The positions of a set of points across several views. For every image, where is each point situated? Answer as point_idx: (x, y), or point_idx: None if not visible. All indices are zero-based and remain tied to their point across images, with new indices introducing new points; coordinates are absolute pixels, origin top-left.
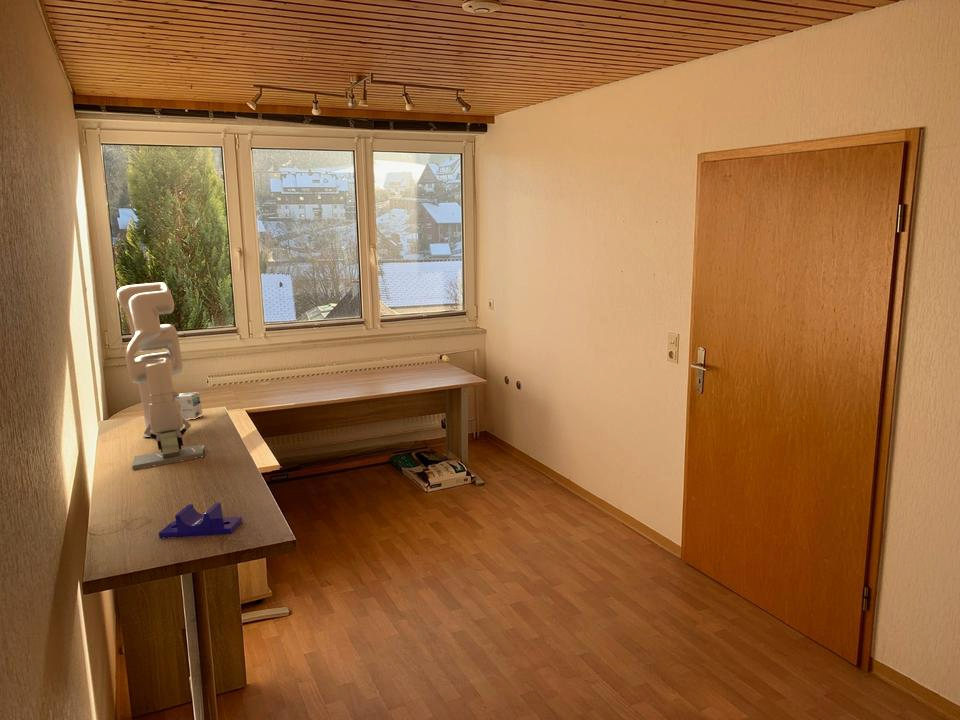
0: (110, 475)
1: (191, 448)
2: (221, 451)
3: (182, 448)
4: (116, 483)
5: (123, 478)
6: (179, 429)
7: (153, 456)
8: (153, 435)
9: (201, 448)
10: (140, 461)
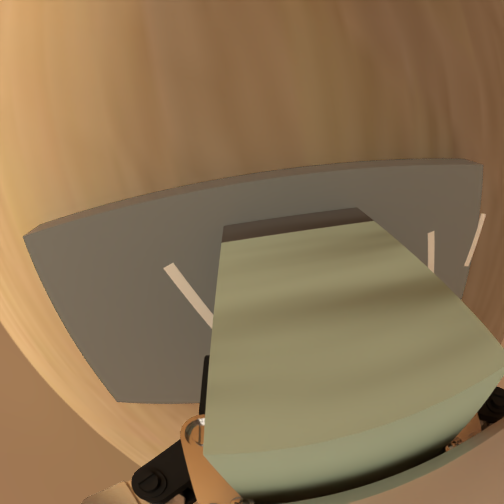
0: (68, 391)
1: (428, 238)
2: (495, 279)
3: (374, 192)
4: (146, 451)
5: (142, 435)
6: (468, 428)
7: (163, 312)
8: (185, 500)
9: (464, 269)
10: (123, 368)
